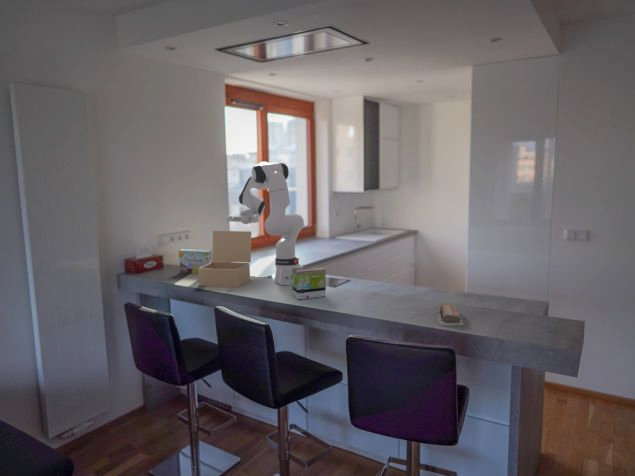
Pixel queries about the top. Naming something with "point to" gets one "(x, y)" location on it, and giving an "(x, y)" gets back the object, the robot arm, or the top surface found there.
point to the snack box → (193, 260)
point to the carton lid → (232, 246)
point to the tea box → (308, 282)
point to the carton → (224, 274)
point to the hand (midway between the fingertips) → (238, 219)
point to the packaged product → (448, 315)
